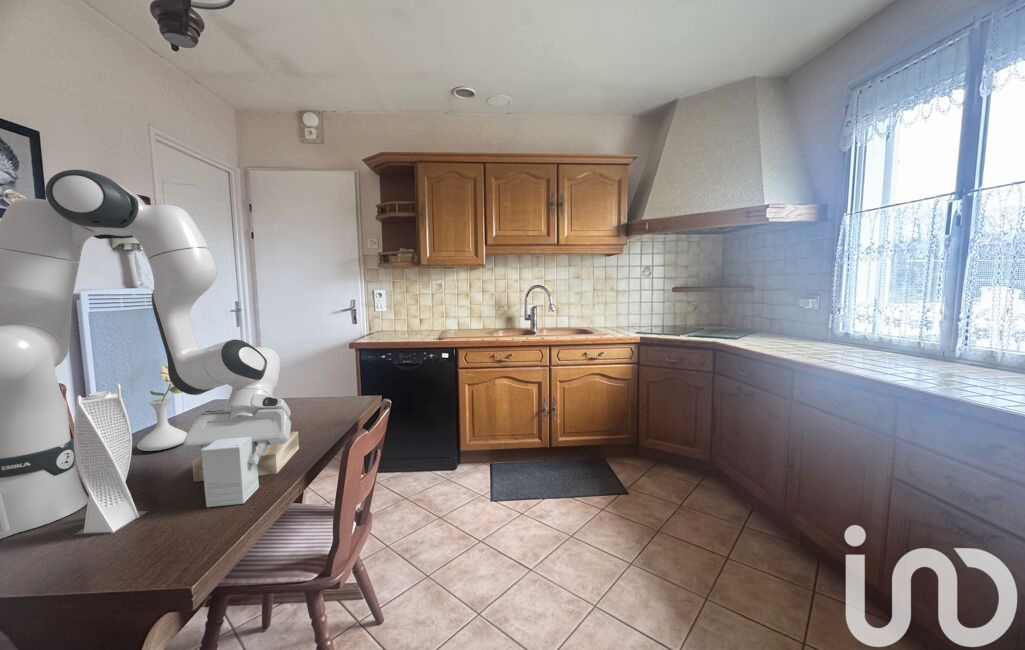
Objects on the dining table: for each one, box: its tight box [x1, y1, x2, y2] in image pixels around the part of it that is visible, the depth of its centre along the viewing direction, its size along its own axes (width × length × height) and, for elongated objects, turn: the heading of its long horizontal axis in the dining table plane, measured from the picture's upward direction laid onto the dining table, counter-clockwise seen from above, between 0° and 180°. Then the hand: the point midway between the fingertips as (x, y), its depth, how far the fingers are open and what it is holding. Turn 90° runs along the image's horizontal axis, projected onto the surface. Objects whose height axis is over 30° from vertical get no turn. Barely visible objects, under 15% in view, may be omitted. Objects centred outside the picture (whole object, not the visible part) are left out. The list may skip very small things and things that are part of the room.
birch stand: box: [191, 431, 300, 482], centre depth 100 cm, size 18×16×5 cm
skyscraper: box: [73, 383, 148, 535], centre depth 73 cm, size 8×8×28 cm
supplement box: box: [200, 437, 260, 508], centre depth 83 cm, size 7×7×13 cm
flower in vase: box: [136, 362, 188, 452], centre depth 112 cm, size 13×11×25 cm
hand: (229, 465), depth 82 cm, fingers closed on supplement box, 7 cm apart
